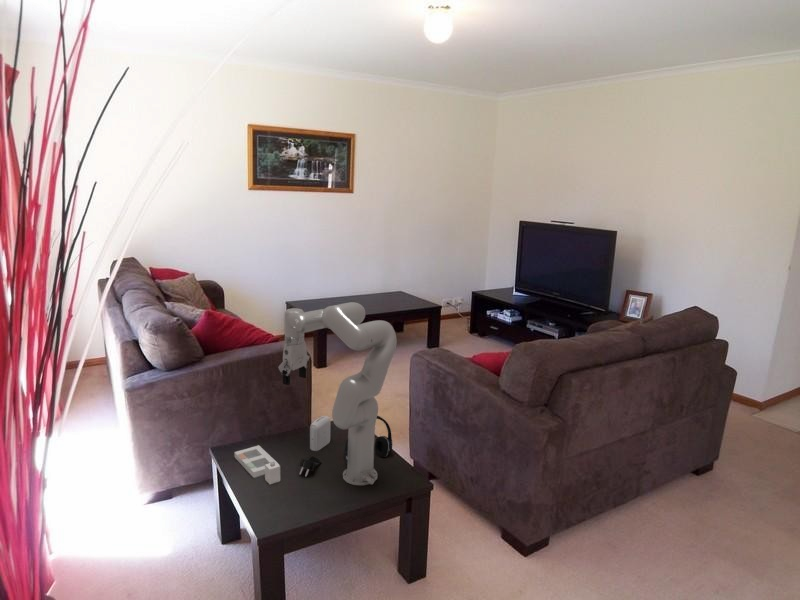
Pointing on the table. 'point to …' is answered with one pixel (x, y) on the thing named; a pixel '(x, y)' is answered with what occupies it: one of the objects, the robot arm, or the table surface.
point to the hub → (254, 460)
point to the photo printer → (320, 433)
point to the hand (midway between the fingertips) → (294, 380)
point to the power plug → (308, 463)
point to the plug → (272, 472)
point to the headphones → (378, 444)
